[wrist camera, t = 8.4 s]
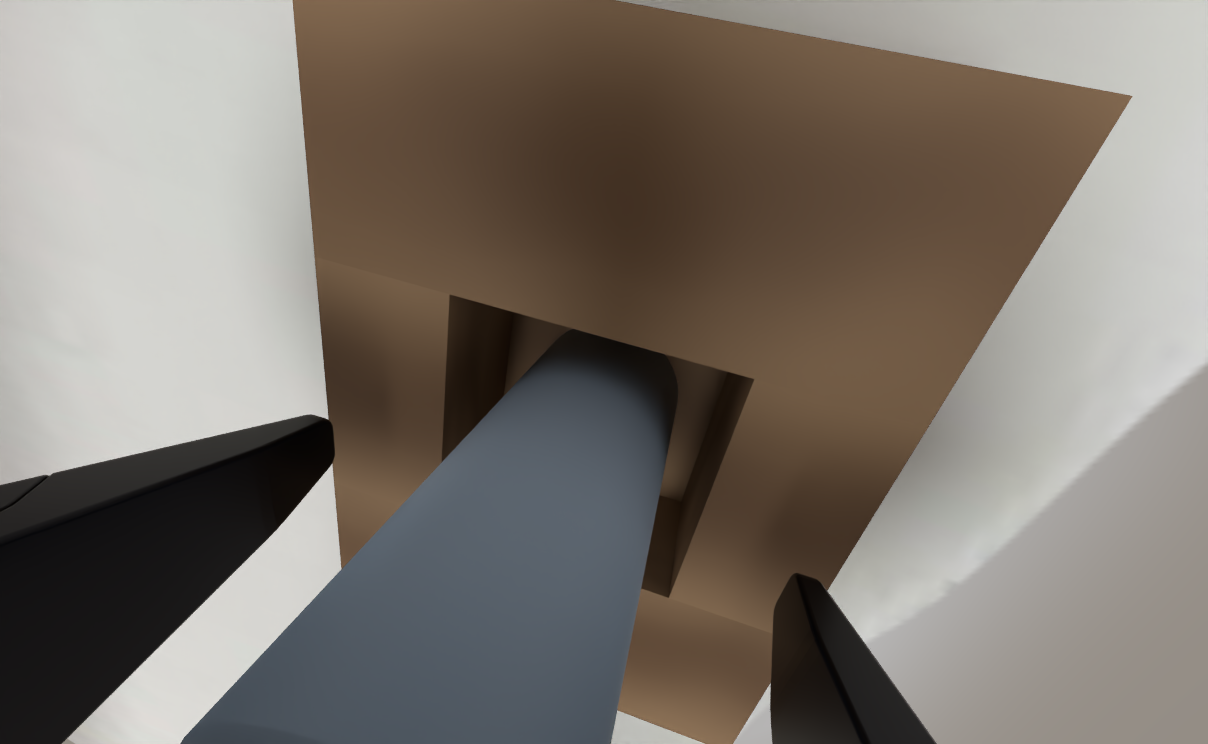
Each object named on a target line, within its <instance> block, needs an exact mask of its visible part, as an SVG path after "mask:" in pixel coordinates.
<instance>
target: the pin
mask: <svg viewBox="0 0 1208 744" xmlns="http://www.w3.org/2000/svg"><path fill="white" fill-rule="evenodd" d="M677 403H678V384H677V379H676V375H675V373H674V370H673V367H672V366H671V364H670V362H669V360H668V358H667V357H666V356H665V354H662V353H659V352H655V351H651V350H648V349H644V348H641V347H637V346H633V345H630V344H626V343H623V342H619V341H615V340H612V339H608V338H605V337H601V336H598V335H594V334H590V333H587V332H583V331H580V330H576V329H571V330H569V331H567V332H566V333H565V334H563V335H562V336H560V337H559V338H558V339H557V340H556V341H555V342H554V343H553V344H552V345H551V346H550V347H549V348H548V349H547V351H546V352H545V353H544V354H543V355H542V356H541V357H540V358H539V359H538V360H537V361H536V362H535V363H534V364H533V365H532V367H531V368H530V369H529V370H528V371H527V372H526V373H525V374H524V375H523V376H522V377H521V378H520V379H519V380H518V382H517V383H516V384H515V385H514V386H513V387H512V388H511V389H510V390H509V391H508V392H507V393H506V394H505V395H504V396H503V398H502V399H501V400H500V401H499V402H498V403H497V404H496V405H495V406H494V407H493V408H492V409H491V410H490V411H489V412H488V414H487V415H486V416H485V417H484V418H483V419H482V420H481V421H480V422H479V423H478V424H477V425H476V426H475V427H474V429H473V430H472V431H471V432H470V433H469V434H468V435H467V436H466V437H465V438H464V439H463V440H462V441H461V442H460V443H459V445H458V446H457V447H456V448H455V449H454V450H453V451H452V452H451V453H450V454H449V455H448V456H447V457H446V458H445V459H444V461H443V462H442V463H441V464H440V465H439V466H438V467H437V468H436V469H435V470H434V471H433V472H432V473H431V474H430V476H429V477H428V478H427V479H426V480H425V481H424V482H423V483H422V484H421V485H420V486H419V487H418V488H417V489H416V490H415V492H414V493H413V494H412V495H411V496H410V497H409V498H408V499H407V500H406V501H405V502H404V503H403V504H402V505H401V507H400V508H399V509H398V510H397V511H396V512H395V513H394V514H393V515H392V516H391V517H390V518H389V519H388V520H387V521H386V523H385V524H384V525H383V526H382V527H381V528H380V529H379V530H378V531H377V532H376V533H375V534H374V535H373V536H372V537H371V539H370V540H369V541H368V542H367V543H366V544H365V545H364V546H363V547H362V548H361V549H360V550H359V551H358V552H357V554H356V555H355V556H354V557H353V558H352V559H351V560H350V561H349V562H348V563H347V564H346V565H345V566H344V567H343V568H342V570H341V571H340V572H339V573H338V574H337V575H336V576H335V577H334V578H333V579H332V580H331V581H330V582H329V583H328V584H327V586H326V587H325V588H324V589H323V590H322V591H321V592H320V593H319V594H318V595H317V596H316V597H315V598H314V599H313V601H312V602H311V603H310V604H309V605H308V606H307V607H306V608H305V609H304V610H303V611H302V612H301V613H300V614H299V615H298V617H297V618H296V619H295V620H294V621H293V622H292V623H291V624H290V625H289V626H288V627H287V628H286V629H285V630H284V632H283V633H282V634H281V635H280V636H279V637H278V638H277V639H276V640H275V641H274V642H273V643H272V644H271V645H270V646H269V648H268V649H267V650H266V651H265V652H264V653H263V654H262V655H261V656H260V657H259V658H258V659H257V660H256V661H255V662H254V664H253V665H252V666H251V667H250V668H249V669H248V670H247V671H246V672H245V673H244V674H243V675H242V676H241V677H240V679H239V680H238V681H237V682H236V683H235V684H234V685H233V686H232V687H231V688H230V689H229V690H228V691H227V692H226V693H225V695H224V696H223V697H222V698H221V699H220V700H219V701H218V702H217V703H216V704H215V705H214V706H213V707H212V708H211V709H210V711H209V712H208V713H207V714H206V715H205V716H204V717H203V718H202V719H201V720H200V721H199V722H198V723H197V724H196V726H195V727H194V728H193V729H192V730H191V731H190V732H189V733H188V734H187V735H186V736H185V737H184V739H183V740H182V742H181V744H611V739H612V734H613V729H614V724H615V719H616V714H617V709H618V703H619V698H620V693H621V688H622V683H623V678H624V673H625V668H626V663H627V658H628V652H629V647H630V642H631V637H632V632H633V627H634V622H635V617H636V612H637V607H638V602H639V596H640V591H641V586H642V581H643V576H644V571H645V566H646V561H647V556H648V551H649V545H650V540H651V535H652V530H653V525H654V520H655V515H656V510H657V505H658V500H659V495H660V489H661V484H662V479H663V474H664V469H665V464H666V459H667V454H668V449H669V444H670V438H671V433H672V428H673V423H674V418H675V413H676V408H677Z"/></svg>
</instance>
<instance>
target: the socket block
mask: <svg viewBox="0 0 1208 744" xmlns="http://www.w3.org/2000/svg"><path fill="white" fill-rule="evenodd" d="M293 10H294V22H295V33H296V45H297V57H298V68H299V80H300V91H301V103H302V115H303V126H304V138H305V150H306V161H307V173H308V184H309V196H310V208H311V219H312V231H313V242H314V254H315V266H316V277H317V289H318V301H319V312H320V324H321V335H322V347H323V359H324V370H325V382H326V394H327V405H328V417H329V421H331V423H332V425H333V431H334V443H335V458H334V460H333V462H332V463H333V475H334V487H335V498H336V510H337V521H338V533H339V545H340V556H341V568H343V567H344V566H345V565H346V564H347V563H348V562H349V561H350V560H351V559H352V558H353V557H354V556H355V555H356V554H357V552H358V551H359V550H360V549H361V548H362V547H363V546H364V545H365V544H366V543H367V542H368V541H369V540H370V539H371V537H372V536H373V535H374V534H375V533H376V532H377V531H378V530H379V529H380V528H381V527H382V526H383V525H384V524H385V523H386V521H387V520H388V519H389V518H390V517H391V516H392V515H393V514H394V513H395V512H396V511H397V510H398V509H399V508H400V507H401V505H402V504H403V503H404V502H405V501H406V500H407V499H408V498H409V497H410V496H411V495H412V494H413V493H414V492H415V490H416V489H417V488H418V487H419V486H420V485H421V484H422V483H423V482H424V481H425V480H426V479H427V478H428V477H429V476H430V474H431V473H432V472H433V471H434V470H435V469H436V468H437V467H438V466H439V465H440V464H441V463H442V462H443V461H444V459H445V458H446V457H447V456H448V455H449V454H450V453H451V452H452V451H453V450H454V449H455V448H456V447H457V446H458V445H459V443H460V442H461V441H462V440H463V439H464V438H465V437H466V436H467V435H468V434H469V433H470V432H471V431H472V430H473V429H474V427H475V426H476V425H477V424H478V423H479V422H480V421H481V420H482V419H483V418H484V417H485V416H486V415H487V414H488V412H489V411H490V410H491V409H492V408H493V407H494V406H495V405H496V404H497V403H498V402H499V401H500V400H501V399H502V398H503V396H504V395H505V394H506V393H507V392H508V391H509V390H510V389H511V388H512V387H513V386H514V385H515V384H516V383H517V382H518V380H519V379H520V378H521V377H522V376H523V375H524V374H525V373H526V372H527V371H528V370H529V369H530V368H531V367H532V365H533V364H534V363H535V362H536V361H537V360H538V359H539V358H540V357H541V356H542V355H543V354H544V353H545V352H546V351H547V349H548V348H549V347H550V346H551V345H552V344H553V343H554V342H555V341H556V340H557V339H558V338H559V337H560V336H562V335H563V334H565V333H566V332H567V331H569V330H571V329H576V330H580V331H583V332H587V333H590V334H594V335H598V336H601V337H605V338H608V339H612V340H615V341H619V342H623V343H626V344H630V345H633V346H637V347H641V348H644V349H648V350H651V351H655V352H659V353H662V354H665V356H666V357H667V358H668V360H669V362H670V364H671V366H672V367H673V370H674V373H675V375H676V379H677V384H678V403H677V408H676V413H675V418H674V423H673V428H672V433H671V438H670V444H669V449H668V454H667V459H666V464H665V469H664V474H663V479H662V484H661V489H660V495H659V500H658V505H657V510H656V515H655V520H654V525H653V530H652V535H651V540H650V545H649V551H648V556H647V561H646V566H645V571H644V576H643V581H642V586H641V591H640V596H639V602H638V607H637V612H636V617H635V622H634V627H633V632H632V637H631V642H630V647H629V652H628V658H627V663H626V668H625V673H624V678H623V683H622V688H621V693H620V698H619V703H618V709H617V710H618V711H621V712H623V713H626V714H629V715H631V716H634V717H636V718H639V719H642V720H644V721H647V722H650V723H652V724H655V725H658V726H660V727H663V728H665V729H668V730H671V731H673V732H676V733H679V734H681V735H684V736H687V737H689V738H692V739H694V740H697V741H700V742H702V743H705V744H733V743H734V741H735V739H736V738H737V736H738V735H739V733H740V731H741V730H742V728H743V726H744V725H745V723H746V722H747V720H748V718H749V717H750V715H751V713H752V712H753V710H754V709H755V707H756V705H757V704H758V702H759V700H760V699H761V697H762V696H763V694H764V692H765V691H766V689H767V688H768V686H769V684H770V683H771V665H772V634H773V613H774V608H775V604H776V602H777V600H778V598H779V596H780V595H781V593H782V591H783V589H784V587H785V586H786V584H787V582H788V580H789V578H790V577H791V576H792V575H793V574H794V573H800V574H803V575H806V576H809V577H812V578H815V579H817V580H819V581H820V582H821V583H822V584H823V586H824V587H825V588H826V590H828V589H829V587H830V585H831V584H832V582H833V581H834V579H835V577H836V576H837V574H838V572H839V571H840V569H841V568H842V566H843V564H844V563H845V561H846V559H847V558H848V556H849V555H850V553H851V551H852V550H853V548H854V547H855V545H856V543H857V542H858V540H859V538H860V537H861V535H862V534H863V532H864V530H865V529H866V527H867V525H868V524H869V522H870V521H871V519H872V517H873V516H874V514H875V512H876V511H877V509H878V508H879V506H880V504H881V503H882V501H883V500H884V498H885V496H886V495H887V493H888V491H889V490H890V488H891V487H892V485H893V483H894V482H895V480H896V478H897V477H898V475H899V474H900V472H901V470H902V469H903V467H904V466H905V464H906V462H907V461H908V459H909V457H910V456H911V454H912V453H913V451H914V449H915V448H916V446H917V444H918V443H919V441H920V440H921V438H922V436H923V435H924V433H925V431H926V430H927V428H928V427H929V425H930V423H931V422H932V420H933V419H934V417H935V415H936V414H937V412H938V410H939V409H940V407H941V406H942V404H943V402H944V401H945V399H946V397H947V396H948V394H949V393H950V391H951V389H952V388H953V386H954V384H955V383H956V381H957V380H958V378H959V376H960V375H961V373H962V372H963V370H964V368H965V367H966V365H967V363H968V362H969V360H970V359H971V357H972V355H973V354H974V352H975V350H976V349H977V347H978V346H979V344H980V342H981V341H982V339H983V337H984V336H985V334H986V333H987V331H988V329H989V328H990V326H991V325H992V323H993V321H994V320H995V318H996V316H997V315H998V313H999V312H1000V310H1001V308H1002V307H1003V305H1004V303H1005V302H1006V300H1007V299H1008V297H1009V295H1010V294H1011V292H1012V290H1013V289H1014V287H1015V286H1016V284H1017V282H1018V281H1019V279H1020V278H1021V276H1022V274H1023V273H1024V271H1025V269H1026V268H1027V266H1028V265H1029V263H1030V261H1031V260H1032V258H1033V256H1034V255H1035V253H1036V252H1037V250H1038V248H1039V247H1040V245H1041V243H1042V242H1043V240H1044V239H1045V237H1046V235H1047V234H1048V232H1049V231H1050V229H1051V227H1052V226H1053V224H1054V222H1055V221H1056V219H1057V218H1058V216H1059V214H1060V213H1061V211H1062V209H1063V208H1064V206H1065V205H1066V203H1067V201H1068V200H1069V198H1070V196H1071V195H1072V193H1073V192H1074V190H1075V188H1076V187H1077V185H1078V184H1079V182H1080V180H1081V179H1082V177H1083V175H1084V174H1085V172H1086V171H1087V169H1088V167H1089V166H1090V164H1091V162H1092V161H1093V159H1094V158H1095V156H1096V154H1097V153H1098V151H1099V149H1100V148H1101V146H1102V145H1103V143H1104V141H1105V140H1106V138H1107V137H1108V135H1109V133H1110V132H1111V130H1112V128H1113V127H1114V125H1115V124H1116V122H1117V120H1118V119H1119V117H1120V115H1121V114H1122V112H1123V111H1124V109H1125V107H1126V106H1127V104H1128V103H1129V101H1130V99H1131V98H1132V96H1129V95H1124V94H1119V93H1113V92H1108V91H1102V90H1097V89H1091V88H1086V87H1081V86H1075V85H1070V84H1064V83H1059V82H1054V81H1048V80H1043V79H1037V78H1032V77H1027V76H1021V75H1016V74H1010V73H1005V72H1000V71H994V70H989V69H983V68H978V67H972V66H967V65H962V64H956V63H951V62H945V61H940V60H935V59H929V58H924V57H918V56H913V55H908V54H902V53H897V52H891V51H886V50H881V49H875V48H870V47H864V46H859V45H854V44H848V43H843V42H837V41H832V40H826V39H821V38H816V37H810V36H805V35H799V34H794V33H789V32H783V31H778V30H772V29H767V28H762V27H756V26H751V25H745V24H740V23H735V22H729V21H724V20H718V19H713V18H708V17H702V16H697V15H691V14H686V13H680V12H675V11H670V10H664V9H659V8H653V7H648V6H643V5H637V4H632V3H626V2H621V1H616V0H293Z"/></svg>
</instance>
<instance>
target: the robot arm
mask: <svg viewBox="0 0 1208 744" xmlns="http://www.w3.org/2000/svg"><path fill="white" fill-rule="evenodd" d="M334 458H335V443H334V431H333V425H332V423H331V421H329V420H328V419H325V418H322V417H319V416H315V415H304V416H300V417H295V418H291V419H287V420H282V421H278V422H274V423H269V424H265V425H261V426H256V427H252V428H248V429H243V430H239V431H234V432H230V433H226V434H221V435H217V436H213V437H208V438H204V439H200V440H195V441H191V442H187V443H182V444H178V445H174V446H169V447H165V448H160V449H156V450H152V451H147V452H143V453H139V454H134V455H130V456H126V457H121V458H117V459H113V460H108V461H104V462H100V463H95V464H91V465H86V466H82V467H78V468H73V469H69V470H65V471H60V472H56V473H53V474H51V475H50V476H48V475H42V476H38V477H34V478H29V479H25V480H21V481H17V482H12V483H8V484H3V485H0V744H62V743H63V742H64V741H65V740H66V739H67V738H68V737H69V736H70V735H71V734H72V733H73V732H74V731H75V730H76V729H77V728H78V727H79V726H80V725H81V724H82V723H83V722H84V721H85V720H86V719H87V718H88V717H89V716H90V715H91V714H92V713H93V712H94V711H95V710H96V709H97V708H98V707H99V706H100V705H101V704H102V703H103V702H104V701H105V700H106V699H107V698H108V697H109V696H110V695H111V694H112V693H113V692H114V691H115V690H116V689H117V688H118V687H119V686H120V685H121V684H122V683H123V682H124V681H125V680H126V679H127V678H128V677H129V676H130V675H131V674H132V673H133V672H134V671H135V670H136V669H137V668H138V667H139V666H140V665H141V664H142V663H143V662H144V661H145V660H146V659H147V658H148V657H149V656H150V655H151V654H152V653H153V652H154V651H155V650H156V649H157V648H158V647H159V646H160V645H161V644H163V643H164V642H165V641H166V640H167V639H168V638H169V637H170V636H171V635H172V634H173V633H174V632H175V631H176V630H177V629H178V628H179V627H180V626H181V625H182V624H183V623H184V622H185V621H186V620H187V619H188V618H189V617H190V616H191V615H192V614H193V613H194V612H195V611H196V610H197V609H198V608H199V607H200V606H201V605H202V604H203V603H204V602H205V601H206V600H207V599H208V598H209V597H210V596H211V595H212V594H213V593H214V592H215V591H216V590H217V589H218V588H219V587H220V586H221V585H222V584H223V583H224V582H225V581H226V580H227V579H228V578H229V577H230V576H231V575H232V574H233V573H234V572H235V571H236V570H237V569H238V568H239V567H240V566H241V565H242V564H243V563H244V562H245V561H246V560H247V559H248V558H249V557H250V556H251V555H252V554H253V553H254V552H255V551H256V550H257V549H258V548H259V547H260V546H261V545H262V544H263V543H264V542H265V541H266V540H267V539H268V538H269V537H270V536H271V535H272V534H273V533H274V532H275V531H276V530H277V529H278V527H279V526H280V525H281V524H282V523H283V522H284V521H285V520H286V518H287V517H288V516H289V515H290V514H291V512H292V511H293V510H294V509H295V508H296V507H297V505H298V504H299V503H300V502H301V501H302V499H303V498H304V497H305V496H306V495H307V493H308V492H309V491H310V490H311V489H312V487H313V486H314V485H315V484H316V483H317V481H318V480H319V479H320V478H321V477H322V475H323V474H324V473H325V472H326V471H327V469H328V468H329V467H330V466H331V464H332V462H333V460H334ZM770 711H771V729H772V742H773V744H936V742H935V741H934V739H933V738H932V737H931V735H930V734H929V732H928V731H927V729H926V728H925V727H924V725H923V724H922V723H921V721H920V720H919V718H918V717H917V716H916V714H915V713H914V711H913V710H912V709H911V707H910V706H909V704H908V703H907V702H906V700H905V699H904V697H903V696H902V695H901V693H900V692H899V690H898V689H897V688H896V686H895V685H894V684H893V682H892V681H891V679H890V678H889V677H888V675H887V674H886V672H885V671H884V670H883V668H882V667H881V665H880V664H879V662H878V661H877V660H876V658H875V657H874V656H873V654H872V653H871V651H870V650H869V649H868V647H867V646H866V644H865V643H864V642H863V640H862V639H861V637H860V636H859V635H858V633H857V632H856V630H855V629H854V628H853V626H852V625H851V623H850V622H849V621H848V619H847V618H846V616H845V615H844V614H843V612H842V611H841V609H840V608H839V607H838V605H837V604H836V602H835V601H834V600H833V598H832V597H831V595H830V594H829V593H828V591H827V590H826V588H825V587H824V586H823V584H822V583H821V582H820V581H819V580H817V579H815V578H812V577H809V576H806V575H803V574H800V573H794V574H793V575H792V576H791V577H790V578H789V580H788V582H787V584H786V586H785V587H784V589H783V591H782V593H781V595H780V596H779V598H778V600H777V602H776V604H775V608H774V613H773V634H772V665H771V699H770Z"/></svg>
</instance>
